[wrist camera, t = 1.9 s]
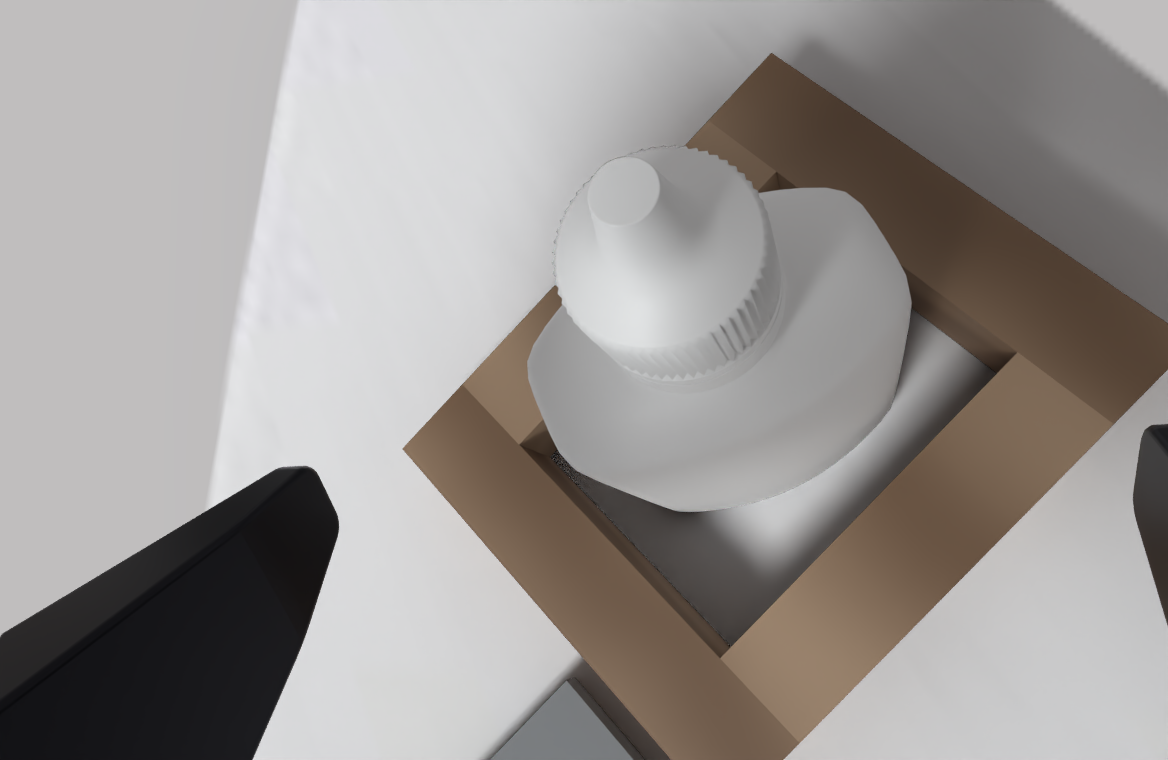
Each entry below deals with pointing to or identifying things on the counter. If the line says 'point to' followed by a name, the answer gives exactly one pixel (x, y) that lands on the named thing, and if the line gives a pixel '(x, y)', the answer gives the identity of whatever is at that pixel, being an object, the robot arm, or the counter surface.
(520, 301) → the counter surface
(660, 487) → the eye dropper bottle
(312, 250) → the counter surface
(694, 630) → the wooden tray
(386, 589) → the counter surface
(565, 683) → the mat
